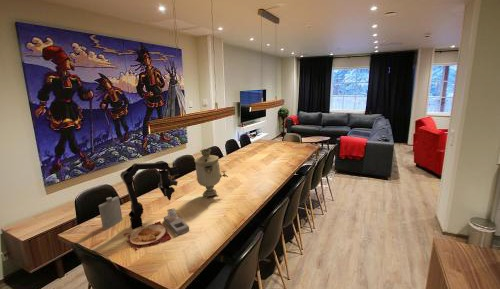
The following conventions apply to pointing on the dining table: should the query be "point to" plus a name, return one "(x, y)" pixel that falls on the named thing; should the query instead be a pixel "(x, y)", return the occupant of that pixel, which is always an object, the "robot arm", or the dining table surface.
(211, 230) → the dining table surface
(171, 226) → the parts holder
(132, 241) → the plate with food
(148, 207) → the dining table surface
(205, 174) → the samovar
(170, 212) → the aluminium block
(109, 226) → the hip flask
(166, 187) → the robot arm
